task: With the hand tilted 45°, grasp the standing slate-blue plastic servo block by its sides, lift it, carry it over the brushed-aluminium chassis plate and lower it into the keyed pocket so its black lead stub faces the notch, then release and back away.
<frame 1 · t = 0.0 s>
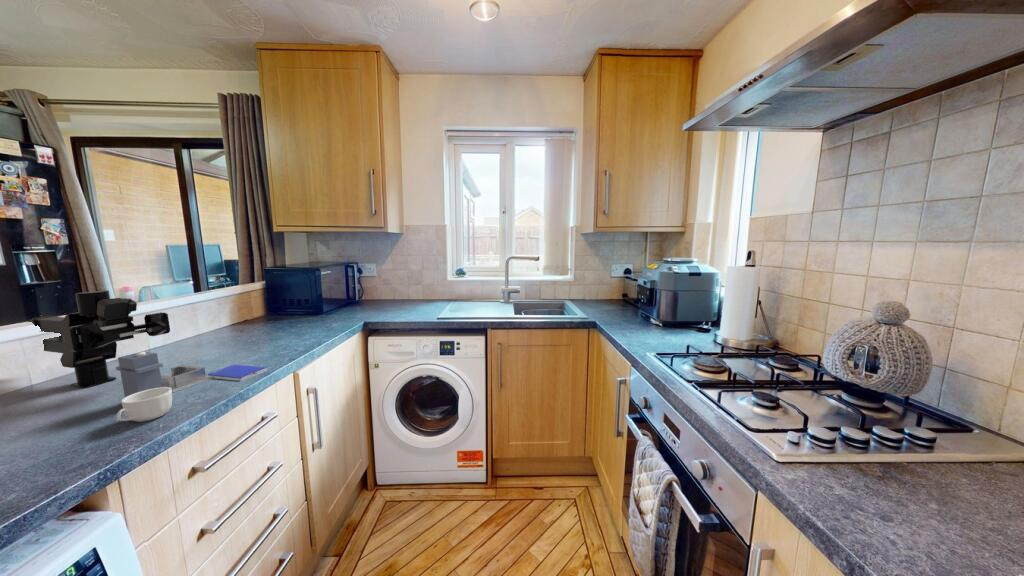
hand: (143, 332, 87), 17 cm above the countertop, tool horizontal, fingers open, 9 cm apart
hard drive: (238, 375, 101), on the countertop, touching chassis
chassis: (177, 382, 95), on the countertop
teacup: (146, 420, 75), on the countertop
servo: (145, 400, 84), on the countertop
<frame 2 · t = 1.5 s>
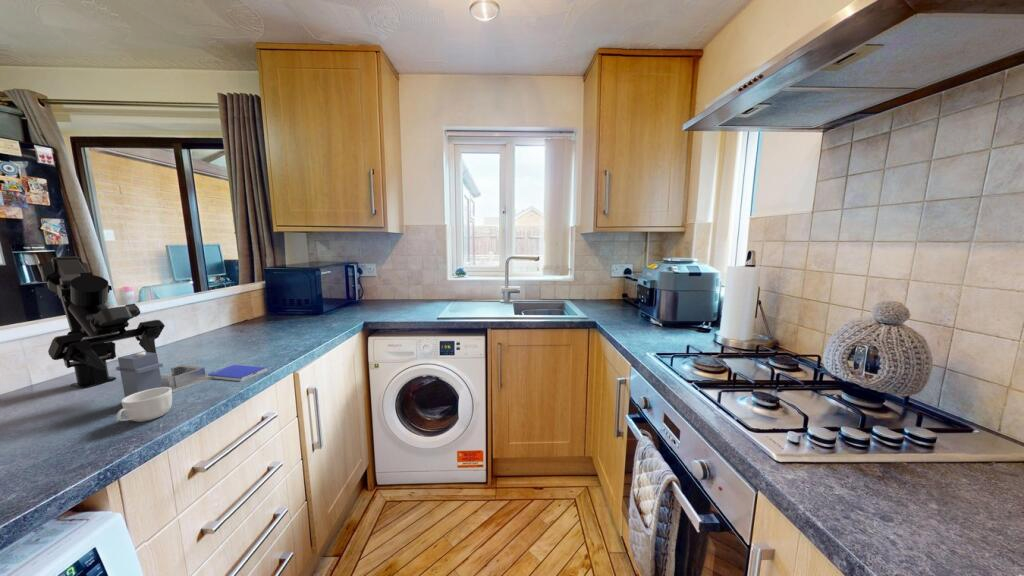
hand: (131, 362, 83), 10 cm above the countertop, tool tilted 45°, fingers open, 9 cm apart
nothing on the countertop moved.
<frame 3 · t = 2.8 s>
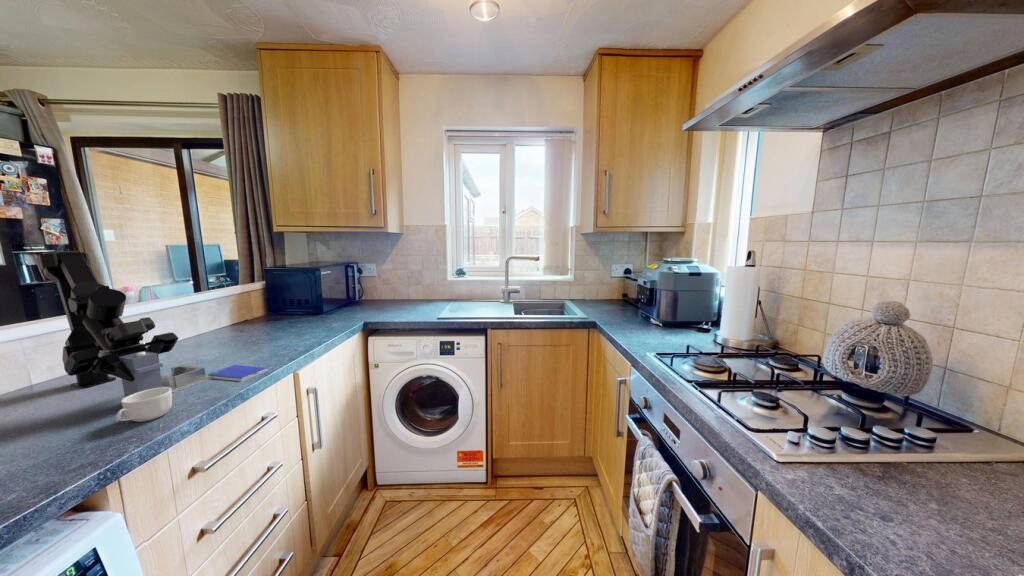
hand: (146, 376, 82), 7 cm above the countertop, tool tilted 45°, fingers closed on servo, 4 cm apart
servo: (145, 400, 84), on the countertop, touching gripper
everything else where it was.
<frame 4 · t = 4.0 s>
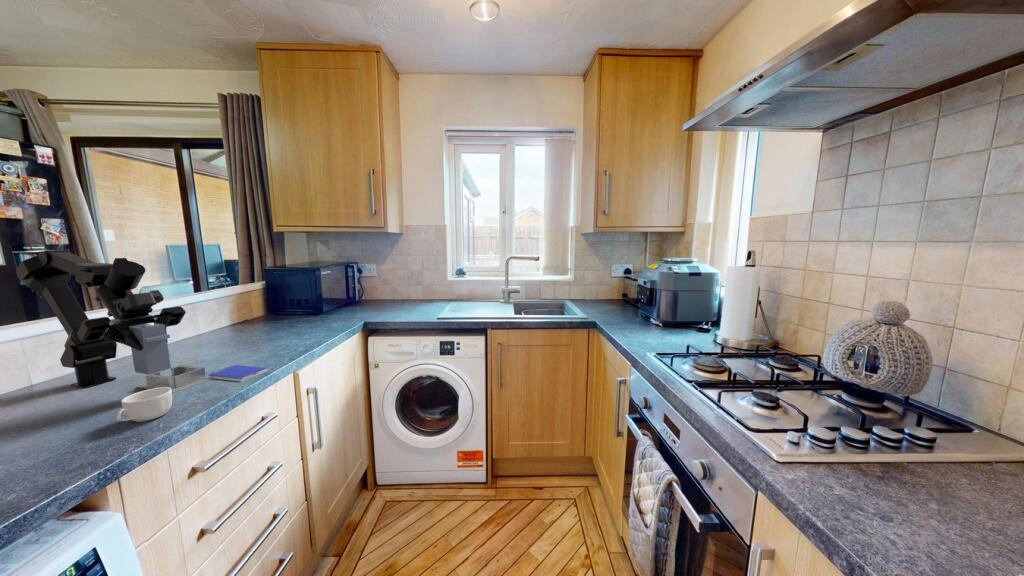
hand: (154, 346, 86), 13 cm above the countertop, tool tilted 45°, fingers closed on servo, 4 cm apart
servo: (153, 370, 87), point 6 cm above the countertop, touching gripper
everything else where it was.
when the fingers open (9 cm above the countertop, at t = 5.6 s): servo drops 1 cm, resting on chassis.
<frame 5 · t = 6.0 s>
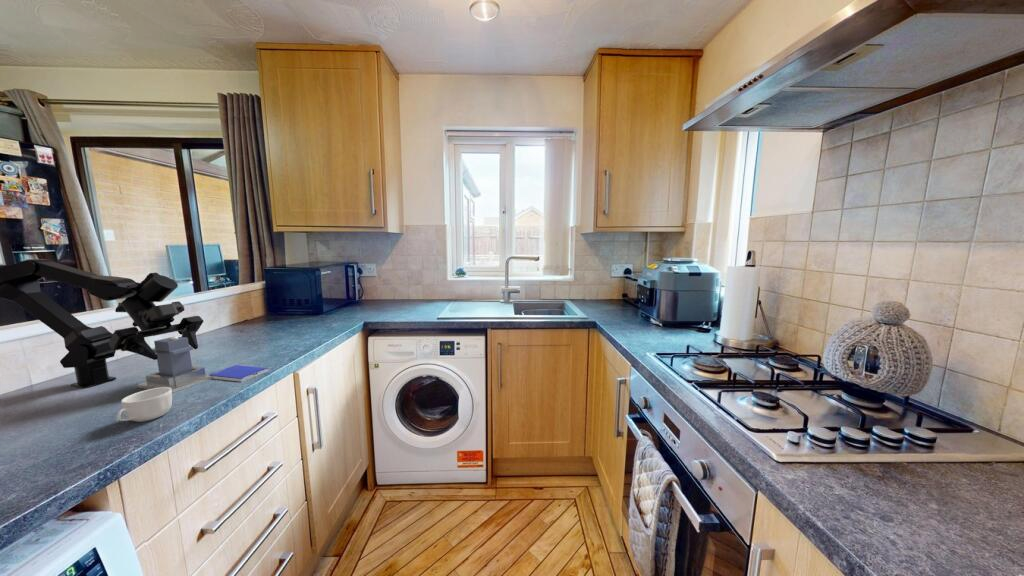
hand: (177, 353, 93), 9 cm above the countertop, tool tilted 45°, fingers open, 9 cm apart
servo: (177, 379, 95), point 1 cm above the countertop, touching chassis
everything else where it was.
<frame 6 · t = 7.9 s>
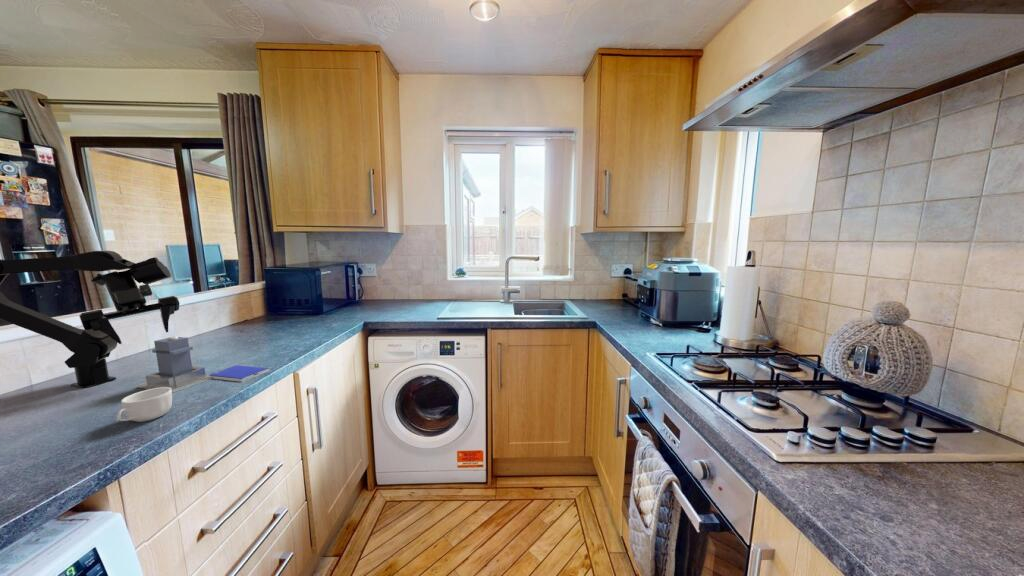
hand: (144, 337, 94), 13 cm above the countertop, tool tilted 35°, fingers open, 9 cm apart
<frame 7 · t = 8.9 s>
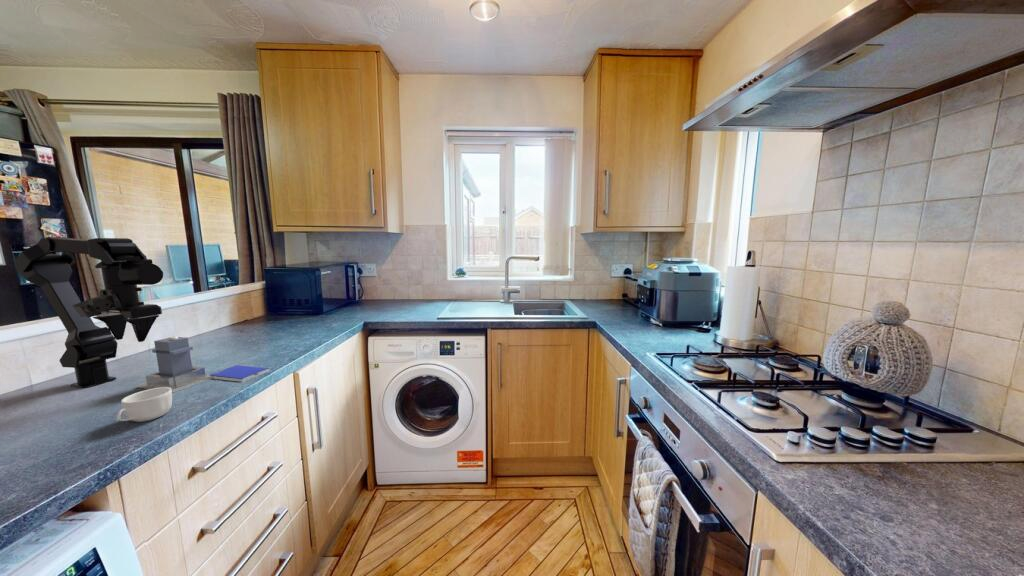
hand: (130, 340, 92), 13 cm above the countertop, tool pointing down, fingers open, 9 cm apart
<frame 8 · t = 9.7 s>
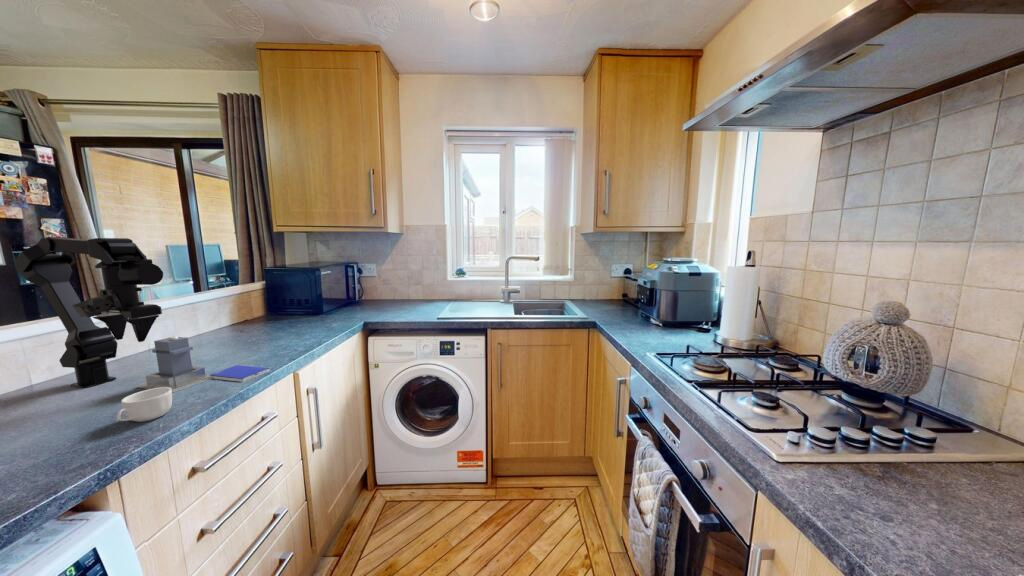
hand: (130, 340, 92), 13 cm above the countertop, tool pointing down, fingers open, 9 cm apart
at the end: servo 0.1 cm off-centre on the chassis, point 0.8 cm above the chassis's base; servo tilted 0°; the gripper is holding nothing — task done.
